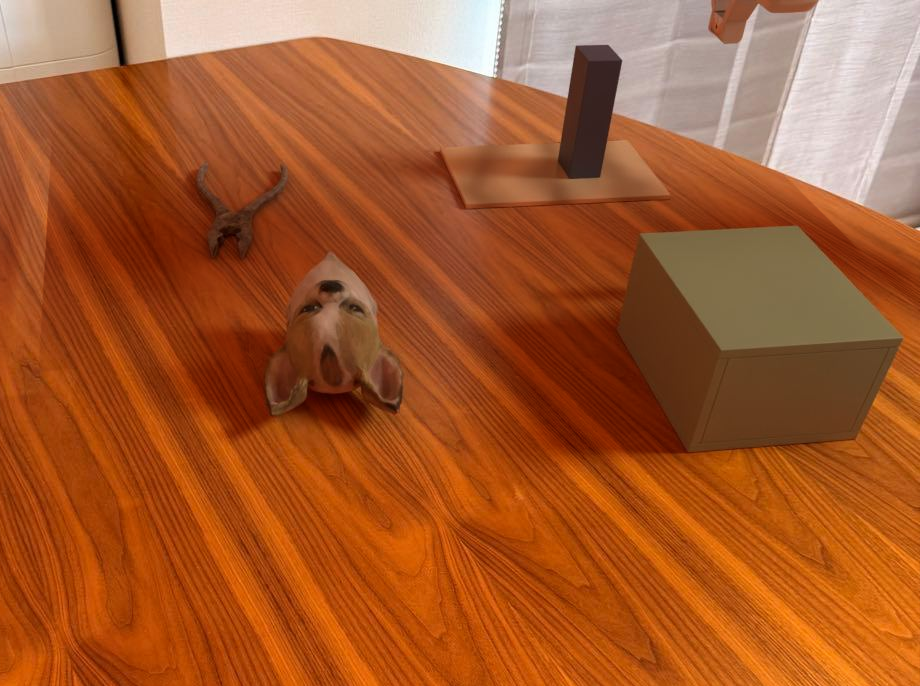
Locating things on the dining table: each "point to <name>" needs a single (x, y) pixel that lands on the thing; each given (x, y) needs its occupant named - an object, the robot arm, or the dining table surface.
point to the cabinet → (753, 338)
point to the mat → (546, 176)
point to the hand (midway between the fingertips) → (723, 37)
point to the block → (589, 110)
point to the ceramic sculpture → (332, 344)
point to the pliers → (234, 214)
